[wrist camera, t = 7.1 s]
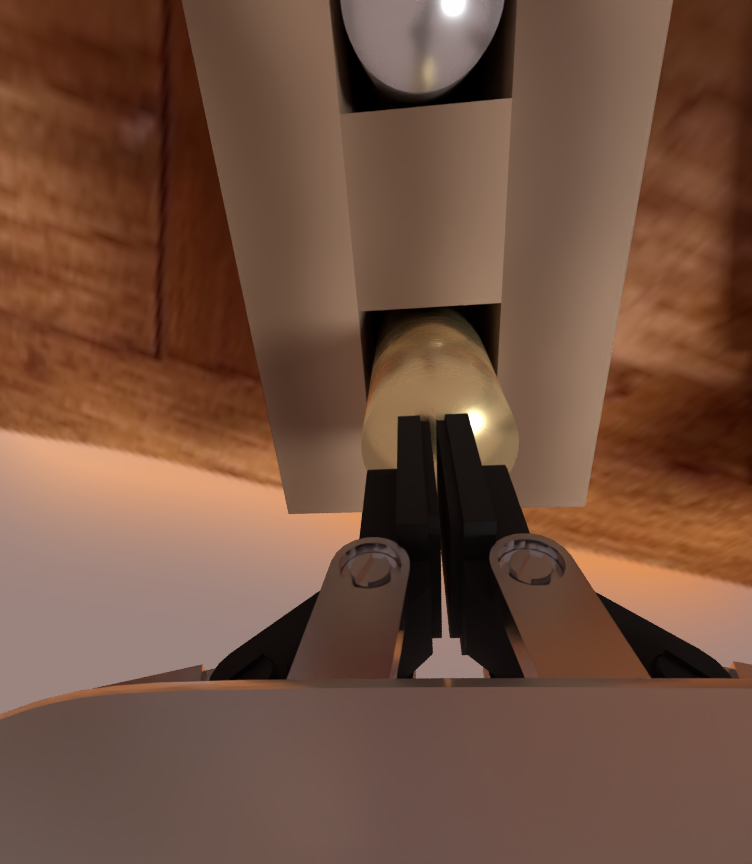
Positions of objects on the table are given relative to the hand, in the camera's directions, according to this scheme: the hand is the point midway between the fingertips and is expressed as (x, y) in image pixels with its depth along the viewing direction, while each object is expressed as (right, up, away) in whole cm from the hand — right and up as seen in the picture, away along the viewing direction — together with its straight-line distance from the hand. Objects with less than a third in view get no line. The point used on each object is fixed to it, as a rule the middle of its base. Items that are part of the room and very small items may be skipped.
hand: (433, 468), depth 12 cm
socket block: (+1, +12, +10) cm, 16 cm away
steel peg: (0, +16, +7) cm, 17 cm away
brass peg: (+1, +5, +8) cm, 9 cm away
